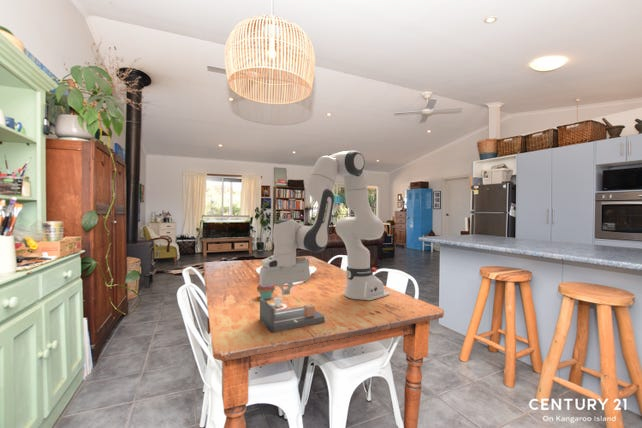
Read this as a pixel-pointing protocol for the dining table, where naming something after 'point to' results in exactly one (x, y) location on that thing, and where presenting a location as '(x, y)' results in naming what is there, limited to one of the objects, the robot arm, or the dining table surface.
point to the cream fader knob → (273, 307)
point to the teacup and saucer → (279, 303)
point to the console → (286, 317)
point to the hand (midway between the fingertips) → (285, 294)
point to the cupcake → (265, 291)
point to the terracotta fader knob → (309, 310)
